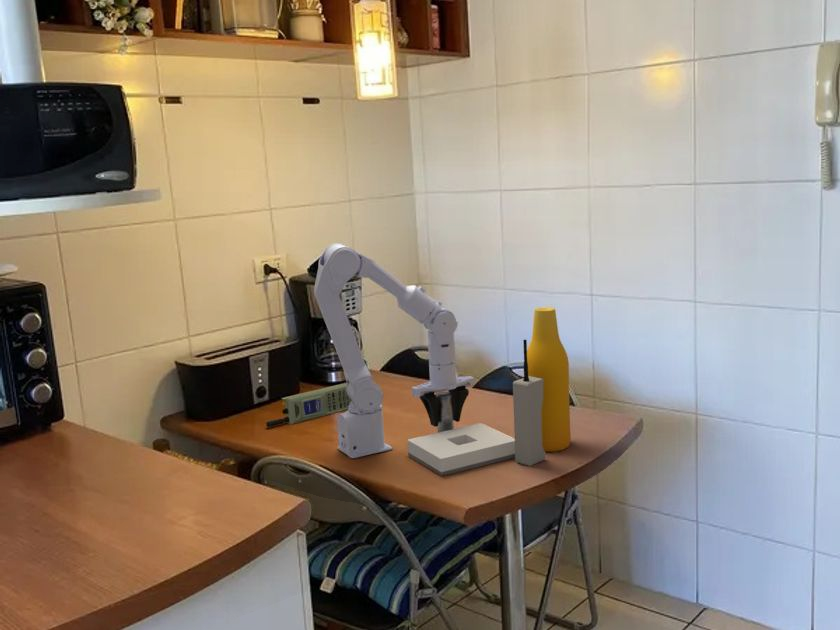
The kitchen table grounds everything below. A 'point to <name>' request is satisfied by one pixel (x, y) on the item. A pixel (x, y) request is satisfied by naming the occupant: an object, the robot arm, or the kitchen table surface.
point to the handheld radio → (314, 404)
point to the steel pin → (445, 411)
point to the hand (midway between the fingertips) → (445, 422)
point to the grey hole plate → (461, 448)
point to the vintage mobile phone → (528, 417)
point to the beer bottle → (551, 379)
